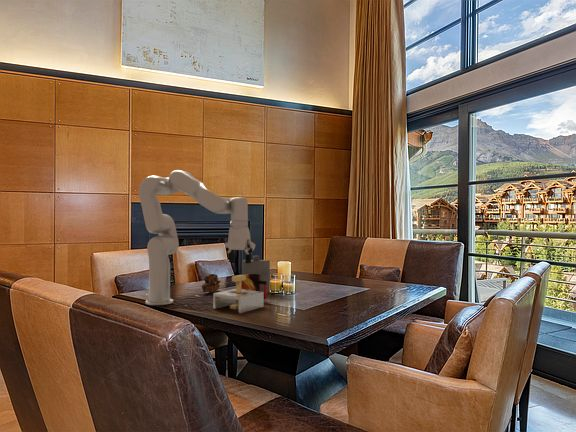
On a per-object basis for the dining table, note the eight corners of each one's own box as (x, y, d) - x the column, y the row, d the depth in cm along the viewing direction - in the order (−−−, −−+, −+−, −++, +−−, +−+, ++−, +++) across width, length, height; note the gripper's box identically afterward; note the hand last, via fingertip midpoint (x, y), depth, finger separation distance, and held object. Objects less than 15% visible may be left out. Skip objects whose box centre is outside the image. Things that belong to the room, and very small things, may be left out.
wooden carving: (208, 295, 218) (208, 276, 218) (200, 294, 219) (200, 275, 219) (222, 290, 234) (222, 272, 234) (214, 289, 235) (214, 271, 235)
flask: (241, 293, 224) (241, 256, 224) (242, 291, 229) (243, 255, 230) (269, 293, 223) (269, 256, 223) (269, 291, 229) (270, 255, 229)
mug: (266, 302, 202) (266, 277, 202) (238, 300, 204) (238, 276, 204) (270, 298, 211) (270, 274, 211) (243, 297, 214) (244, 273, 214)
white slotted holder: (213, 308, 186) (213, 293, 186) (236, 302, 200) (236, 288, 200) (240, 313, 177) (240, 297, 177) (263, 306, 191) (263, 291, 191)
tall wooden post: (229, 308, 186) (230, 276, 186) (241, 305, 193) (241, 274, 193) (235, 309, 184) (235, 277, 184) (247, 306, 191) (247, 275, 191)
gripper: (219, 224, 190) (220, 262, 190) (249, 224, 181) (249, 264, 181) (230, 224, 197) (231, 261, 196) (259, 224, 187) (260, 262, 187)
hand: (239, 262), depth 189 cm, fingers open, 9 cm apart
